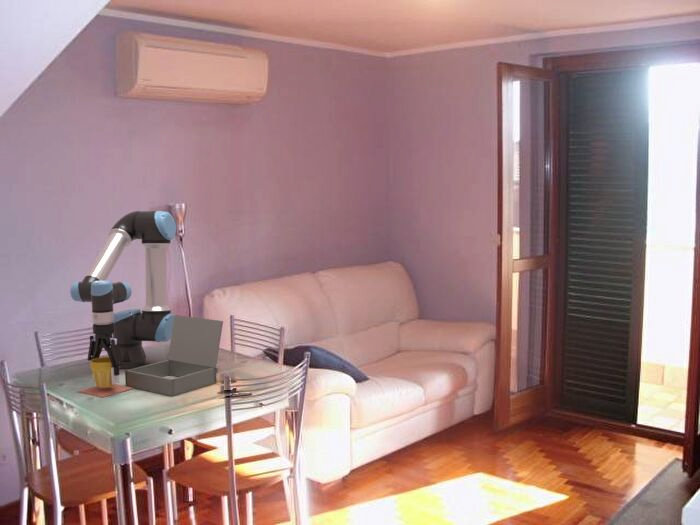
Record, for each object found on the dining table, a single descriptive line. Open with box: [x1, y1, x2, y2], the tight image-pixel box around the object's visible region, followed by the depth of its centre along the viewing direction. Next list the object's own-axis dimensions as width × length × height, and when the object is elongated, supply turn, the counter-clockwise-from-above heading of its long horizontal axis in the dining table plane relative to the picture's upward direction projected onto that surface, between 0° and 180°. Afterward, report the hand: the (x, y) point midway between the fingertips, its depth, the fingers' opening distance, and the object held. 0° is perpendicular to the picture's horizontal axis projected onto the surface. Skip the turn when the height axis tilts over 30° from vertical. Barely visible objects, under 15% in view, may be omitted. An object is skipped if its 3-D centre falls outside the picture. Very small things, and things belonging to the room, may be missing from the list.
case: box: [124, 314, 224, 397], centre depth 298 cm, size 26×27×24 cm
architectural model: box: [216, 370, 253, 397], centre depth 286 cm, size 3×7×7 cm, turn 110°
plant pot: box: [89, 356, 120, 388], centre depth 290 cm, size 10×10×10 cm
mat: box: [78, 383, 135, 399], centre depth 291 cm, size 14×14×1 cm
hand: (106, 381), depth 290 cm, fingers closed on plant pot, 10 cm apart
